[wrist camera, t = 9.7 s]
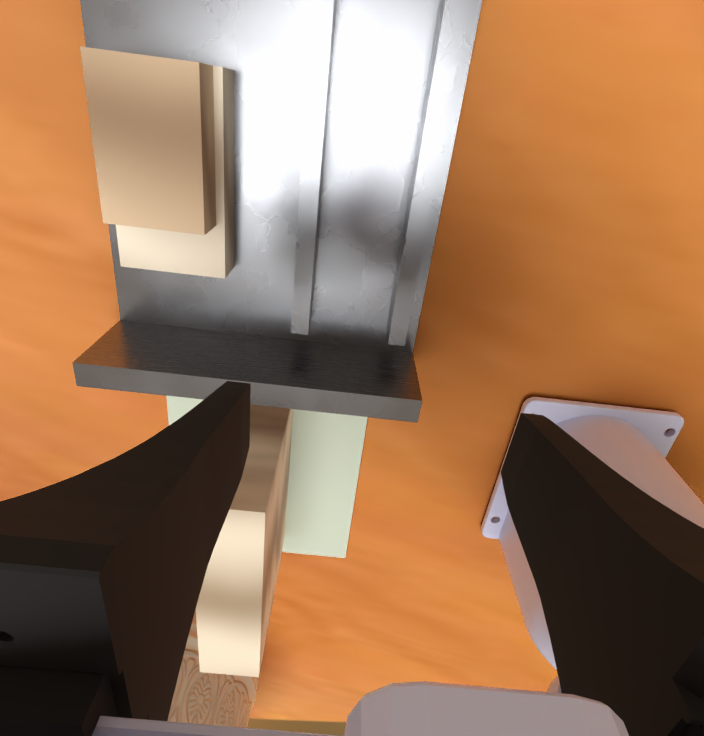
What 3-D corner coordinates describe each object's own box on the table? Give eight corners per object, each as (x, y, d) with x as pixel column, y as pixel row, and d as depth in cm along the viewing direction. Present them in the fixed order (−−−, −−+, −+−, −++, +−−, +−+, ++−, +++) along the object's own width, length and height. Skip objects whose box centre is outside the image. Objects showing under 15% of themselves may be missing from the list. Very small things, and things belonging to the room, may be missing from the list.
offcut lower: (234, 267, 20) (225, 278, 19) (136, 255, 20) (120, 266, 19) (233, 69, 17) (222, 67, 15) (116, 54, 16) (95, 50, 15)
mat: (345, 552, 30) (345, 557, 29) (180, 536, 29) (178, 541, 29) (371, 385, 24) (372, 389, 23) (166, 362, 23) (164, 366, 23)
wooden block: (284, 535, 28) (259, 677, 21) (240, 530, 28) (199, 672, 21) (294, 390, 24) (265, 512, 16) (241, 384, 23) (188, 505, 16)
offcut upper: (216, 225, 18) (204, 235, 16) (122, 214, 18) (103, 223, 16) (213, 65, 15) (199, 62, 14) (104, 51, 15) (79, 46, 14)
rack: (407, 361, 23) (417, 422, 19) (132, 331, 23) (76, 386, 18) (492, -79, 15) (543, -150, 11) (78, -139, 15) (-40, -239, 11)
